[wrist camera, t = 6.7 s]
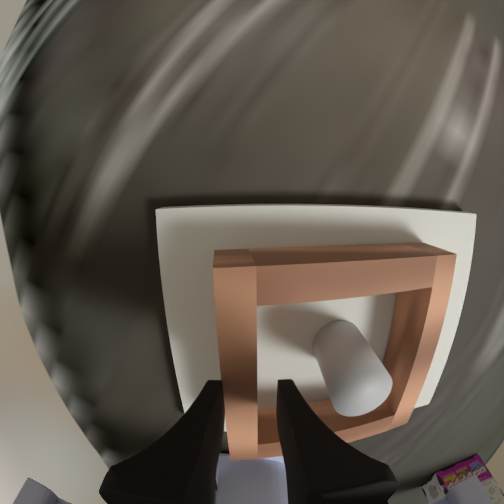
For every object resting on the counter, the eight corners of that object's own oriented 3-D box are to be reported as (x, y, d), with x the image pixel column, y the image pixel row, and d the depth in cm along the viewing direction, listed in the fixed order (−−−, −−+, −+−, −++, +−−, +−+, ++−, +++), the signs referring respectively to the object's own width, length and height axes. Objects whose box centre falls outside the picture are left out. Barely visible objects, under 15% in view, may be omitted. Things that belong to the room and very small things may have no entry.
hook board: (421, 393, 19) (454, 440, 13) (191, 416, 19) (177, 479, 13) (463, 211, 15) (529, 226, 9) (163, 206, 15) (111, 221, 9)
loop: (388, 398, 17) (406, 423, 14) (228, 426, 16) (230, 460, 13) (423, 242, 14) (456, 254, 11) (214, 250, 13) (212, 267, 10)
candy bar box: (419, 487, 25) (448, 555, 9) (434, 471, 24) (469, 543, 8) (463, 469, 25) (495, 524, 9) (478, 452, 24) (514, 509, 8)
